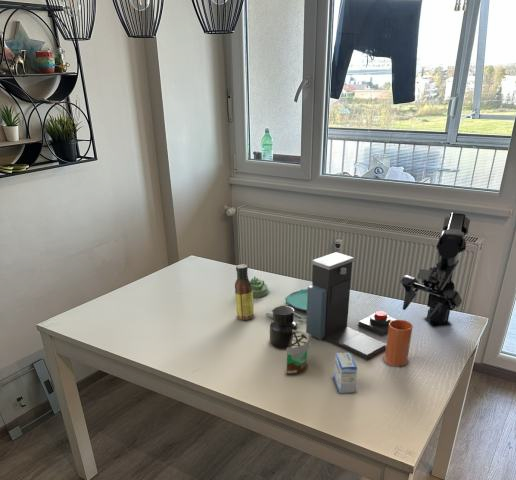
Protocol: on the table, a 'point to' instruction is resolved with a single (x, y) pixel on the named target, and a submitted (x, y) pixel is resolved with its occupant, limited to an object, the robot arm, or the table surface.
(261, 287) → the decorative artifact
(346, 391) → the medicine box
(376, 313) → the button
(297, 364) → the food container
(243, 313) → the sauce bottle
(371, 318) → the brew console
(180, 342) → the table surface
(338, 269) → the coffee maker
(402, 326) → the cup
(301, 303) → the cutlery set
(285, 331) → the ink bottle
